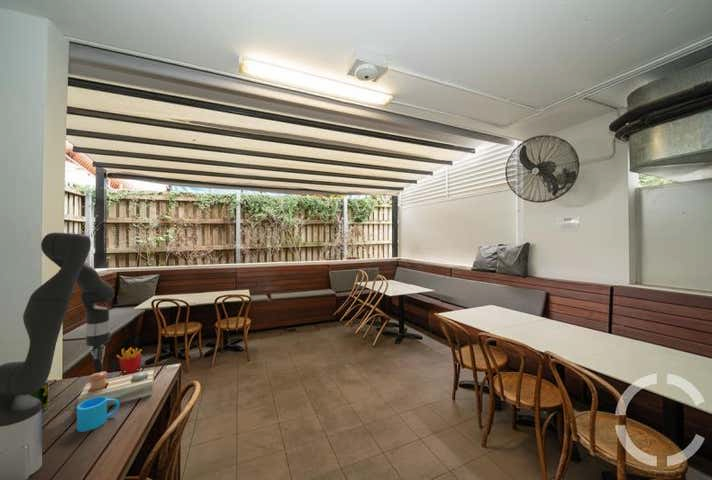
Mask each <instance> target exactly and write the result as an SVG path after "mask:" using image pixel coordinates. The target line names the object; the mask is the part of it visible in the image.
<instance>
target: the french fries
mask: <svg viewBox="0 0 712 480" xmlns="http://www.w3.org/2000/svg"><path fill="white" fill-rule="evenodd" d="M142 350H143V349H142V348H140V349H139V348H138V347H136V348H135V349H134V348H133V347H129V348H128V349H127V350H125V348H122V349H121V355H122V356H120V355H119V354H117V355H116V358H118V360H119V361H118V362H119V367H120V374H121V375H120V376H125V375H129V374H134V373H138V372H141V371H140V370H141V362H142V354H141V352H142ZM137 369H138V370H137ZM124 371H126V372H124Z"/></svg>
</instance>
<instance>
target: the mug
mask: <svg viewBox="0 0 712 480" xmlns="http://www.w3.org/2000/svg"><path fill="white" fill-rule="evenodd" d="M108 401H113V402H115V403H116V404H115V405H116V406H115V408H114V409H113V410H112V411H111V412H110V413H109V414H108V410H107V409H108V406H107V402H108ZM120 404H121V403H119V401H118V400H116V399H107V398H106V397H95V398H92V399H89V400H86V401H84V402H82V403H81V404H79V405H78V404H77V406H76V430H77V432H82V433H83V432H89V431H92V430H95V429H97V428H99V427H101V426H102V425H104V424H105V423H106V422H107V419H108V418H109V417H111V416H112V415H114V414H115V413H116V412H117V411H118V409H119V408H120Z"/></svg>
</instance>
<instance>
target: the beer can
mask: <svg viewBox="0 0 712 480" xmlns="http://www.w3.org/2000/svg"><path fill="white" fill-rule="evenodd" d="M49 382H50V381H49V377H48V378H47V381H46V382H45V384H44V385H43V386H42V387H41V388H40V389H39V390H38V391H36V392H35V393H32V394H29V395H30V396H32V397H35V398H38V399H39V400H41V404H42V412H43V411H45V410H47V409H48V407H49V405H50V388H49V386H50V383H49Z"/></svg>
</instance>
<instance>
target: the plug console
mask: <svg viewBox="0 0 712 480" xmlns="http://www.w3.org/2000/svg"><path fill="white" fill-rule="evenodd" d="M140 372H141V371H139V372H138V373H140ZM142 372H147V377H146V379H144V380H140V381H136V382H133V380H132V376H133V375H134V374H136V373H134V374H129V375H125V376H122V375H120V376H117V377H116V376H115V377H111V378H106V389H102V390H97V391H93V392H91V382H90V383H89V382H88V383H86V384H85V386H84V387H83V390H82V391H81V393H80V394H79V396H78V398H77V406H78V405H79V404H81V403H82V402H84V401H86V400H89V399H92V398H95V397H106V398H107V399H116V400H118V401H119V404H121V403H125V402H128V401H133V400H135V399H136V400H137V399H140V398H145V397H148V396H152V395H153V394H154V393H153V392H154V383H155V369H154V368H153V369H148V370H144V371H142ZM114 405H116V403H115V402H113V401H108V402H107V407H110V406H114Z"/></svg>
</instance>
